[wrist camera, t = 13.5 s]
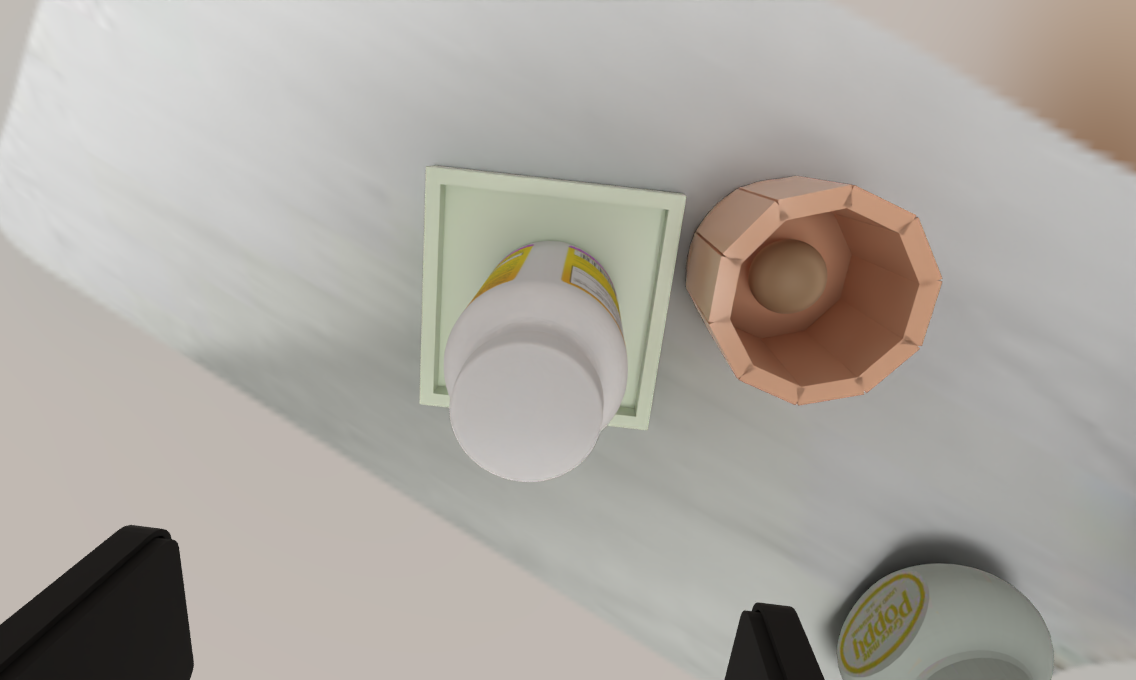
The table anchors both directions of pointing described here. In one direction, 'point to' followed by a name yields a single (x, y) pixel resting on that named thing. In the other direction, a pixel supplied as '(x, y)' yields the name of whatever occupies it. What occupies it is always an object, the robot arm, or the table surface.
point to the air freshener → (944, 629)
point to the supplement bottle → (536, 363)
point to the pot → (848, 303)
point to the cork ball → (787, 276)
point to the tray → (548, 213)
